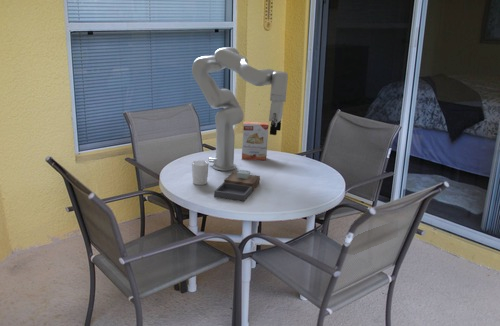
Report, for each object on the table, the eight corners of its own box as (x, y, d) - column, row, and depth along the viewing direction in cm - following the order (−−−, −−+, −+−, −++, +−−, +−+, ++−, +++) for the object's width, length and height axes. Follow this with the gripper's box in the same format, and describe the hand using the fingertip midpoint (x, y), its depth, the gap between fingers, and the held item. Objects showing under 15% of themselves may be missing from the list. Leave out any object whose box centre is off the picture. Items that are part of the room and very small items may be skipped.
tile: (237, 177, 235) (237, 172, 234) (240, 174, 239) (240, 169, 239) (247, 178, 234) (247, 174, 233) (250, 175, 238) (250, 171, 237)
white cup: (195, 186, 232) (195, 166, 229) (189, 181, 239) (189, 161, 236) (210, 184, 236) (211, 164, 233) (204, 179, 242) (204, 159, 239)
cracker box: (241, 159, 276) (243, 123, 270) (241, 156, 282) (243, 121, 275) (266, 160, 276) (268, 124, 270) (266, 157, 282) (268, 122, 276)
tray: (214, 197, 220) (214, 190, 219) (223, 188, 231) (223, 182, 231) (244, 201, 216) (244, 195, 215) (252, 192, 228) (252, 186, 227)
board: (224, 187, 232) (224, 179, 231) (232, 179, 243) (232, 172, 242) (252, 191, 228) (252, 183, 227) (259, 183, 240) (259, 176, 238)
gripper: (274, 94, 244) (271, 127, 249) (266, 99, 228) (263, 135, 233) (289, 95, 242) (286, 129, 247) (282, 101, 226) (279, 137, 232)
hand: (275, 132), depth 240 cm, fingers open, 9 cm apart
